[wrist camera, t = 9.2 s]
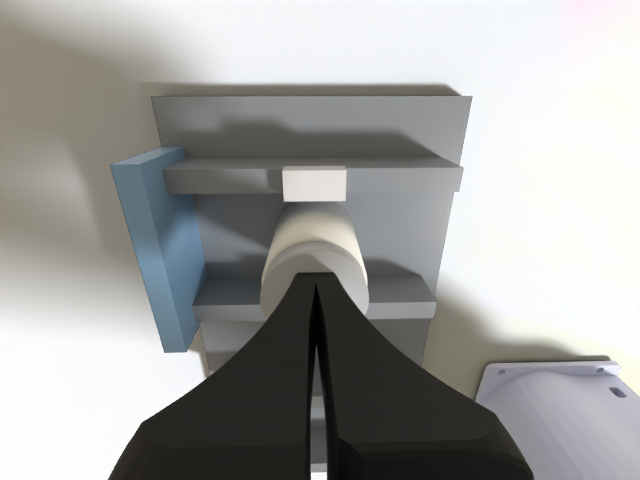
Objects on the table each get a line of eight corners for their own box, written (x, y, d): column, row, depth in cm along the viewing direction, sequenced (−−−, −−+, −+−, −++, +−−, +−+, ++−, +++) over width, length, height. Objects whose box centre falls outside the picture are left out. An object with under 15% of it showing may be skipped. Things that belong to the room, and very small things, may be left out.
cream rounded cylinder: (354, 194, 15) (375, 250, 10) (351, 264, 17) (368, 344, 12) (273, 196, 15) (251, 252, 10) (279, 265, 17) (262, 346, 12)
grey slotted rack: (462, 96, 14) (531, 96, 10) (400, 441, 25) (419, 516, 21) (161, 96, 14) (89, 96, 10) (231, 445, 25) (213, 522, 21)
